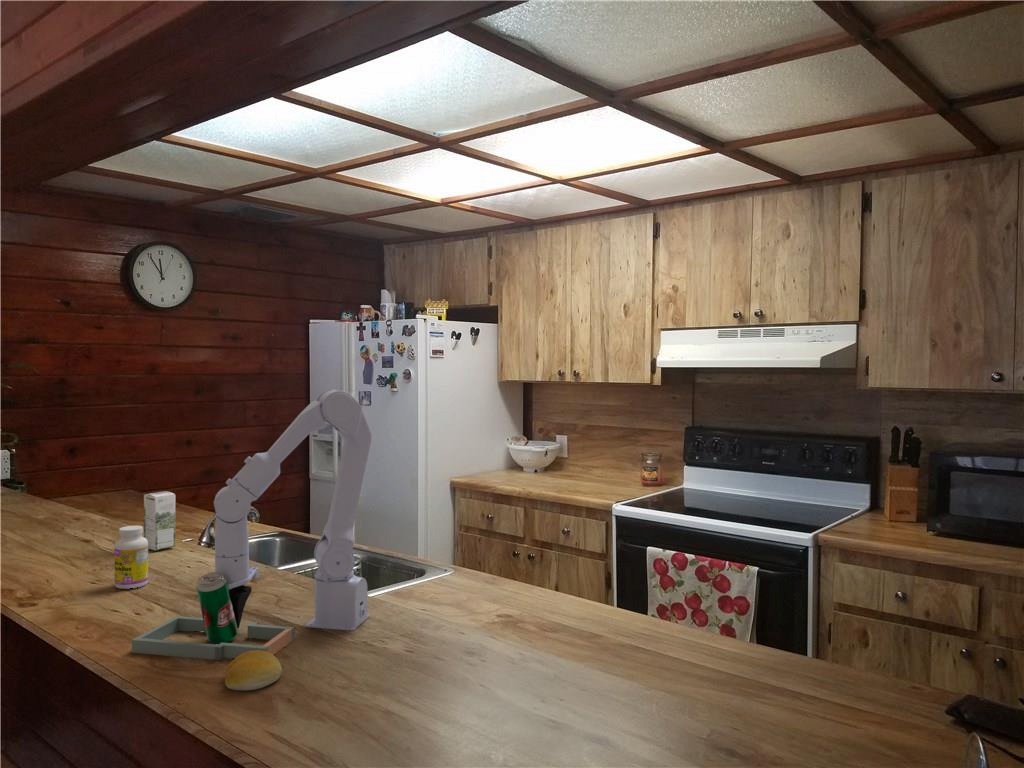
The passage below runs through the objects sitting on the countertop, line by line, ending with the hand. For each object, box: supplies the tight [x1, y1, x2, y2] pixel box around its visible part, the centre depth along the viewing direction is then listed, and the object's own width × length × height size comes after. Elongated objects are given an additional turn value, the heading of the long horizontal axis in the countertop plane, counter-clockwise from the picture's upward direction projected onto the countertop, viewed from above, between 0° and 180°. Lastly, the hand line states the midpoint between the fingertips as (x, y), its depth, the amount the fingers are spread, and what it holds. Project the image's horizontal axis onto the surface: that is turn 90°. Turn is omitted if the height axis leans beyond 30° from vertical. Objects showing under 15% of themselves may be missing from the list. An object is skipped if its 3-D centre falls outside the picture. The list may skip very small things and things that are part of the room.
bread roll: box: [224, 650, 283, 692], centre depth 114 cm, size 8×9×4 cm
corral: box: [131, 615, 295, 661], centre depth 129 cm, size 24×12×2 cm, turn 79°
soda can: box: [195, 571, 239, 644], centre depth 129 cm, size 5×5×12 cm
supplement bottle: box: [113, 525, 149, 590], centre depth 164 cm, size 7×7×13 cm
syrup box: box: [143, 490, 177, 551], centre depth 197 cm, size 6×6×14 cm
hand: (232, 628), depth 134 cm, fingers closed
